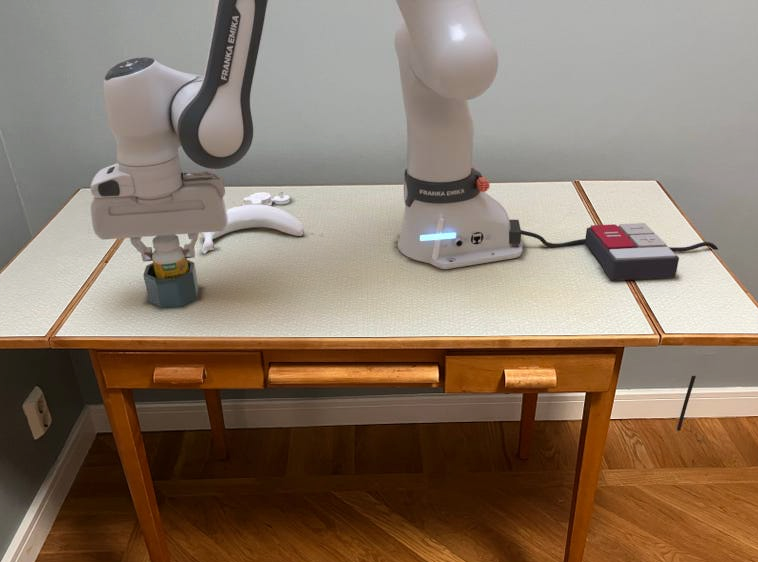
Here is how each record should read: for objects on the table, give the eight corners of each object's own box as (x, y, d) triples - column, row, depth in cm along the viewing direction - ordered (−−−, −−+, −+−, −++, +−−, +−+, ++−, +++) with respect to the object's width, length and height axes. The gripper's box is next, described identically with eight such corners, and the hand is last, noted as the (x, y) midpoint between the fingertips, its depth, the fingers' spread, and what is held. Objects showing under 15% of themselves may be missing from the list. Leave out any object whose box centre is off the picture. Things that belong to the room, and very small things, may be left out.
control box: (646, 220, 134) (681, 253, 122) (642, 242, 137) (676, 277, 124) (586, 223, 134) (615, 257, 121) (583, 245, 136) (611, 280, 123)
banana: (309, 225, 145) (289, 259, 133) (217, 224, 148) (190, 257, 136) (306, 201, 142) (286, 234, 130) (212, 201, 145) (184, 233, 134)
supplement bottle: (186, 280, 126) (175, 228, 120) (197, 293, 122) (187, 240, 116) (155, 289, 123) (143, 236, 118) (166, 303, 120) (154, 249, 114)
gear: (272, 217, 148) (271, 207, 147) (234, 212, 151) (233, 202, 150) (292, 199, 156) (291, 189, 154) (255, 195, 158) (254, 185, 157)
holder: (200, 282, 126) (195, 256, 124) (196, 305, 120) (191, 278, 117) (153, 285, 126) (148, 259, 123) (147, 309, 120) (140, 281, 117)
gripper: (223, 163, 115) (235, 244, 122) (88, 172, 113) (109, 253, 121) (220, 178, 109) (233, 262, 117) (78, 187, 108) (101, 272, 116)
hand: (169, 258), depth 119 cm, fingers closed on supplement bottle, 5 cm apart
